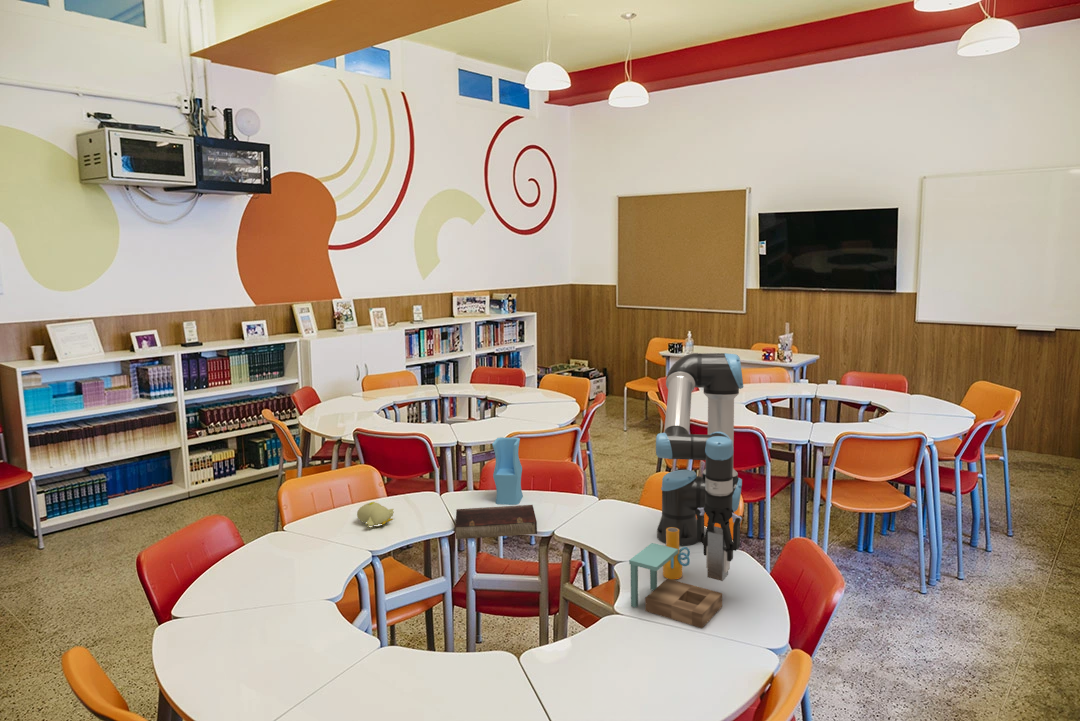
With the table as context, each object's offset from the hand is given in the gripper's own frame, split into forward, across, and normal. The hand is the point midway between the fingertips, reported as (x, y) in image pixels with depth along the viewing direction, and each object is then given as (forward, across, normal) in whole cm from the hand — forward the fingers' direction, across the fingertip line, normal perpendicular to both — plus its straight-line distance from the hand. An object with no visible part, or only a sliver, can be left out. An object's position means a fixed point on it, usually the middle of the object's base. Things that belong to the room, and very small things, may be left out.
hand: (717, 568), depth 209 cm
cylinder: (+9, -17, +5) cm, 20 cm away
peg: (+2, 0, 0) cm, 2 cm away
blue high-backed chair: (+11, -102, +31) cm, 107 cm away
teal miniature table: (+9, -15, -12) cm, 21 cm away
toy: (+10, -130, -15) cm, 132 cm away
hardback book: (+11, -89, +7) cm, 90 cm away
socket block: (+9, -5, -12) cm, 15 cm away
